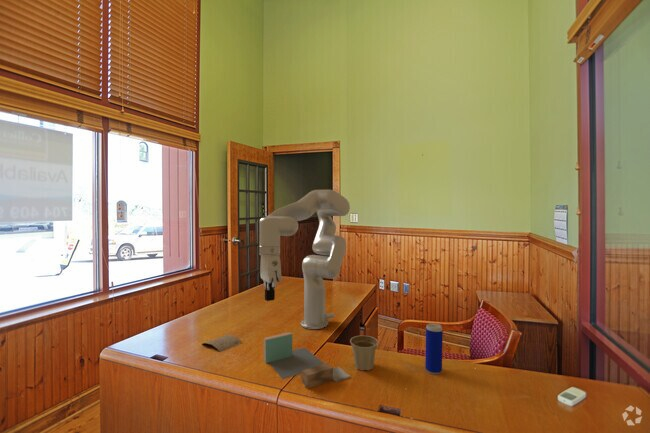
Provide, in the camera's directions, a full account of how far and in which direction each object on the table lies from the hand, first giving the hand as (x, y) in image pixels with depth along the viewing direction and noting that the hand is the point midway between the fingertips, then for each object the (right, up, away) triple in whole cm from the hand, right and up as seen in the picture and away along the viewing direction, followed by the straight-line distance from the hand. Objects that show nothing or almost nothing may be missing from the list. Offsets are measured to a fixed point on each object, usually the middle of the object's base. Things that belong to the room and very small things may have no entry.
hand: (269, 299), depth 116 cm
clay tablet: (-19, -20, +5) cm, 28 cm away
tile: (+4, -19, -6) cm, 20 cm away
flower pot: (+34, -20, -10) cm, 40 cm away
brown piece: (+21, -20, -18) cm, 34 cm away
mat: (+10, -19, -8) cm, 23 cm away
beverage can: (+56, -20, -13) cm, 61 cm away
